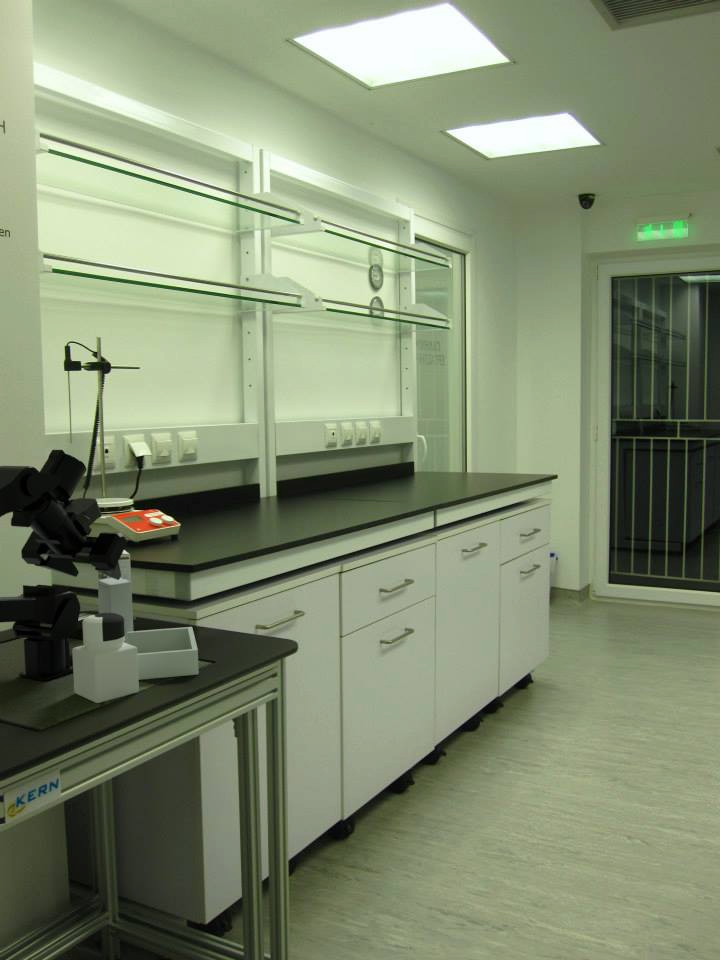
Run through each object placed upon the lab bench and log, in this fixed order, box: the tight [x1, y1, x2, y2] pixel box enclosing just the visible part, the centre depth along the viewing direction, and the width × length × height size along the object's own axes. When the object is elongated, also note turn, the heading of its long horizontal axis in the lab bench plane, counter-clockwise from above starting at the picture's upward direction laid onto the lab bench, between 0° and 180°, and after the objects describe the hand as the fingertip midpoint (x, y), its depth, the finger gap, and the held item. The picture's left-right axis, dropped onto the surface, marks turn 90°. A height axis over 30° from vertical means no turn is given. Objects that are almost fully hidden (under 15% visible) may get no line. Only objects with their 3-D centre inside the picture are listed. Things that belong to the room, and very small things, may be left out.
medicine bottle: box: [71, 612, 140, 704], centre depth 136 cm, size 7×7×12 cm
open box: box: [128, 626, 200, 681], centre depth 151 cm, size 11×16×4 cm
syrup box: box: [97, 549, 132, 614], centre depth 179 cm, size 6×6×14 cm
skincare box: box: [97, 578, 134, 644], centre depth 162 cm, size 6×4×12 cm
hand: (98, 576), depth 158 cm, fingers open, 9 cm apart
